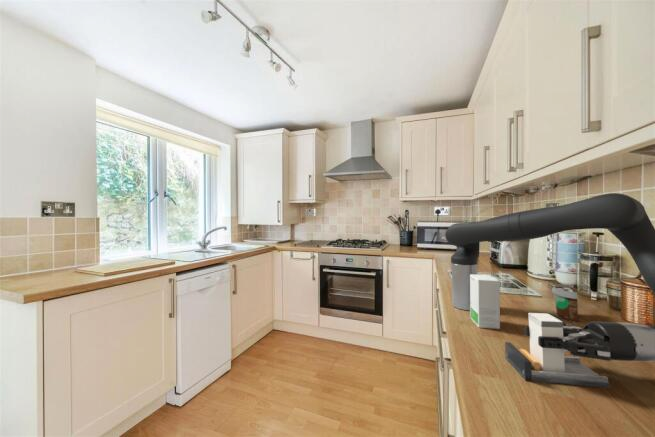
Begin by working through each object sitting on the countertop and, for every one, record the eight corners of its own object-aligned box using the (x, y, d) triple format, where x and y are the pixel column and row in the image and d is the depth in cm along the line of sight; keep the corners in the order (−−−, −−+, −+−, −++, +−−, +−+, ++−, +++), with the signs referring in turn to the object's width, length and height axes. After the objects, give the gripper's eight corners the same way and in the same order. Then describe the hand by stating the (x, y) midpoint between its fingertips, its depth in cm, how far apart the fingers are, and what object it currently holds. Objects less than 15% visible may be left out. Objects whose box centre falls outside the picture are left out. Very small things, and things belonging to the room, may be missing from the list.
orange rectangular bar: (520, 357, 62) (519, 348, 62) (524, 357, 61) (524, 349, 61) (534, 371, 56) (534, 362, 56) (539, 371, 55) (539, 362, 56)
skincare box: (470, 318, 90) (468, 274, 90) (490, 319, 88) (489, 274, 88) (479, 328, 81) (477, 279, 82) (502, 329, 80) (500, 279, 80)
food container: (551, 309, 96) (550, 282, 96) (574, 312, 92) (573, 285, 93) (553, 319, 87) (552, 290, 87) (578, 323, 83) (577, 292, 83)
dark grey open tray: (505, 358, 64) (505, 342, 64) (576, 363, 60) (576, 346, 60) (525, 380, 55) (524, 361, 55) (610, 388, 52) (609, 368, 52)
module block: (530, 359, 61) (528, 312, 61) (549, 360, 60) (547, 313, 60) (543, 371, 56) (541, 320, 56) (564, 373, 55) (562, 321, 55)
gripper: (594, 311, 62) (515, 309, 66) (656, 338, 48) (551, 333, 52) (595, 343, 62) (516, 338, 65) (658, 378, 48) (553, 370, 51)
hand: (532, 336), depth 58 cm, fingers closed on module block, 5 cm apart
